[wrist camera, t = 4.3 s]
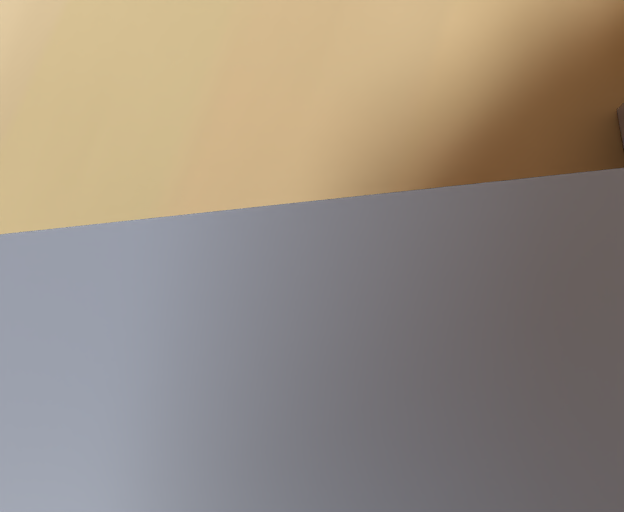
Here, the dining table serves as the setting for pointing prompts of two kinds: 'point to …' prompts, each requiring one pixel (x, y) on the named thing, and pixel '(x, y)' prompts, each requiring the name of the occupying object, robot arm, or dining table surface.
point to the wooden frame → (621, 121)
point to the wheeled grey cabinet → (323, 355)
